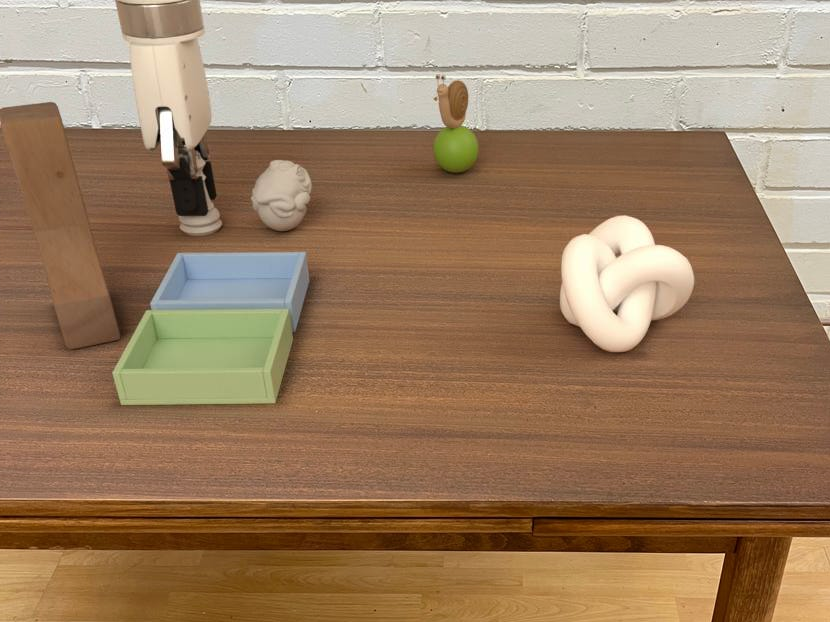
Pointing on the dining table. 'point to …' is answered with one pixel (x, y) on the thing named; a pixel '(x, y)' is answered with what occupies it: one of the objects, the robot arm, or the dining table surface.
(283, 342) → the green tray
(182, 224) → the rook chess piece
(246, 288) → the blue tray
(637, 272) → the white knot sculpture
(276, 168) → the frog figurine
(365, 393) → the dining table surface
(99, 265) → the wooden block
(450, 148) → the snail figurine
